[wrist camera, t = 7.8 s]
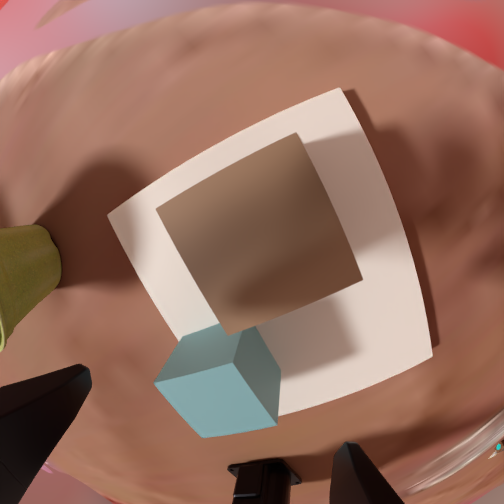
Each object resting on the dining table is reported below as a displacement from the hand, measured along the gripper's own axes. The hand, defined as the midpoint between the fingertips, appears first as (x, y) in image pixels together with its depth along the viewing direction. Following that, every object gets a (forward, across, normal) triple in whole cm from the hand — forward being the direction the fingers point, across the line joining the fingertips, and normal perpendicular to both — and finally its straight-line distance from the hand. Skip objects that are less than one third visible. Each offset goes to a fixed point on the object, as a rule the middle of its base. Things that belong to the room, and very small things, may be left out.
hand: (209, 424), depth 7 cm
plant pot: (+11, +19, +2) cm, 22 cm away
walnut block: (+9, 0, -5) cm, 11 cm away
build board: (+10, -2, -1) cm, 11 cm away
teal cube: (+10, 0, +4) cm, 10 cm away
